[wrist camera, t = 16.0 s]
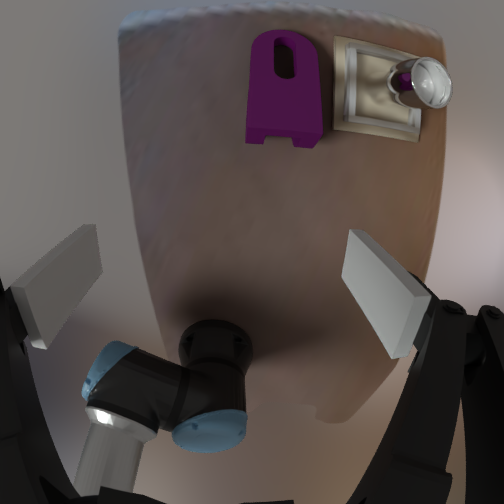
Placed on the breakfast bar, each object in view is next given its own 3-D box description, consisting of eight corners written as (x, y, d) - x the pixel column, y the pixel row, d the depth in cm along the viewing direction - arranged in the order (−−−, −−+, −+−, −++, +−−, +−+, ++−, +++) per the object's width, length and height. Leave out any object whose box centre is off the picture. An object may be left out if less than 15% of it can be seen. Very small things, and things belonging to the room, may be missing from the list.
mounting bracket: (249, 58, 43) (244, 151, 42) (252, 27, 34) (247, 127, 34) (304, 64, 43) (307, 155, 43) (315, 34, 35) (323, 134, 35)
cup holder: (415, 142, 44) (425, 144, 41) (331, 129, 43) (338, 130, 40) (417, 58, 37) (428, 55, 34) (333, 37, 36) (340, 31, 33)
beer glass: (402, 106, 40) (459, 107, 27) (367, 112, 41) (418, 113, 27) (391, 67, 37) (445, 54, 24) (355, 72, 38) (403, 56, 24)
